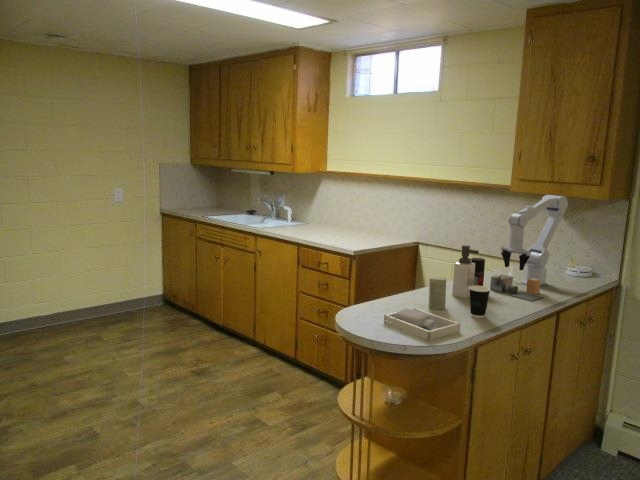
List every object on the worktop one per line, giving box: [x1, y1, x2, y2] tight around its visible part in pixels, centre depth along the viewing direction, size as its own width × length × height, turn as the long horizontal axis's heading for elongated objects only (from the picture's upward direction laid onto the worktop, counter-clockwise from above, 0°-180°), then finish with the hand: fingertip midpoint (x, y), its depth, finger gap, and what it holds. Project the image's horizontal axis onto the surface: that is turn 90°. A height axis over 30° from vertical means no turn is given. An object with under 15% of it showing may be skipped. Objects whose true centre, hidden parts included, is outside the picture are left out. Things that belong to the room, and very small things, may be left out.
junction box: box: [489, 274, 514, 294], centre depth 238 cm, size 9×7×7 cm
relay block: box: [525, 278, 541, 295], centre depth 234 cm, size 4×4×6 cm
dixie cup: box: [469, 285, 492, 319], centre depth 198 cm, size 8×8×11 cm
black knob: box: [507, 284, 519, 295], centre depth 233 cm, size 4×4×3 cm
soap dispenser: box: [452, 244, 480, 299], centre depth 225 cm, size 6×9×22 cm
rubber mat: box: [510, 291, 546, 302], centre depth 227 cm, size 10×10×1 cm
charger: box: [395, 308, 441, 329], centre depth 185 cm, size 5×9×15 cm
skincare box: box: [428, 276, 447, 311], centre depth 208 cm, size 6×4×12 cm
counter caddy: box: [383, 307, 461, 342], centre depth 185 cm, size 16×22×3 cm
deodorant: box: [470, 257, 486, 286], centre depth 233 cm, size 6×6×15 cm
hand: (514, 268), depth 242 cm, fingers open, 7 cm apart
